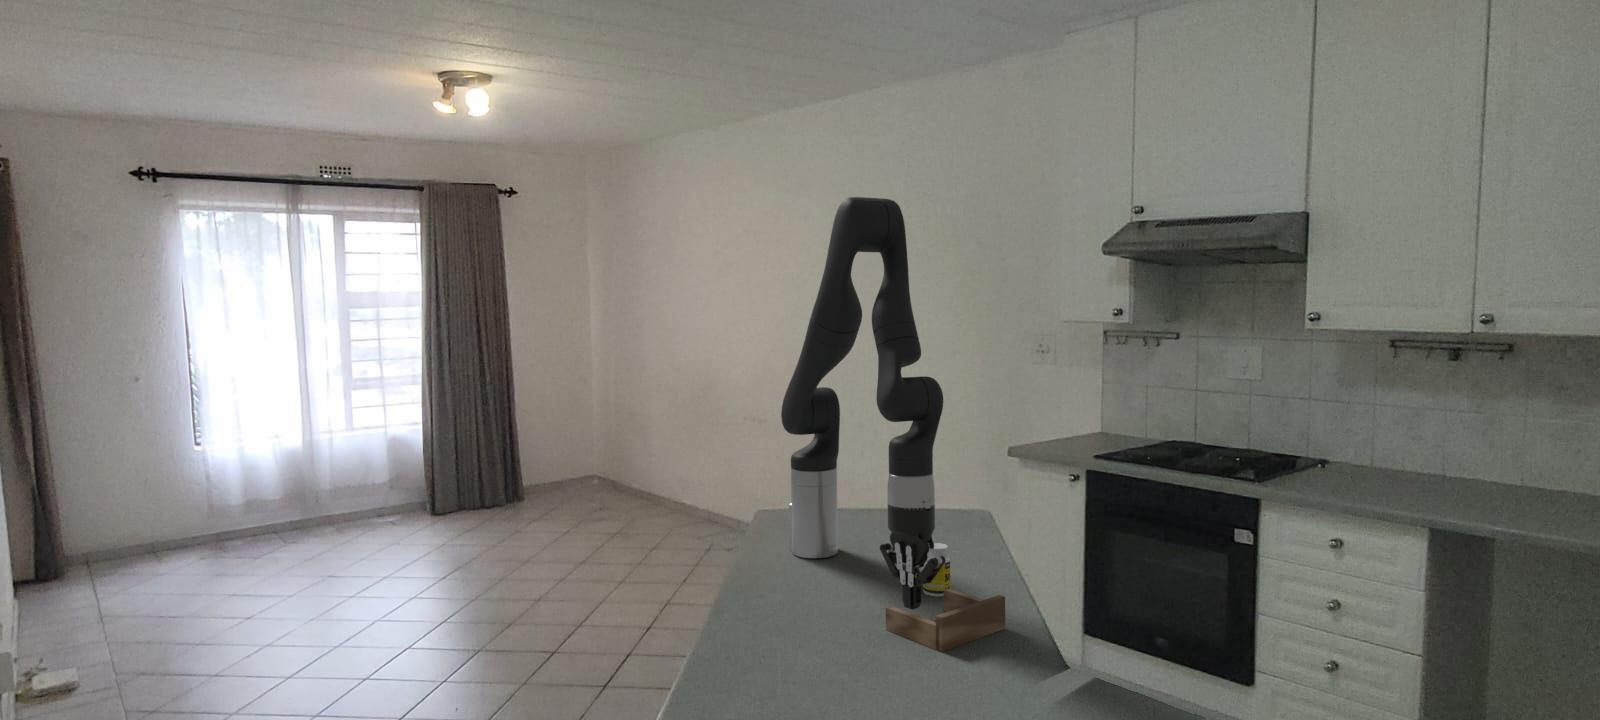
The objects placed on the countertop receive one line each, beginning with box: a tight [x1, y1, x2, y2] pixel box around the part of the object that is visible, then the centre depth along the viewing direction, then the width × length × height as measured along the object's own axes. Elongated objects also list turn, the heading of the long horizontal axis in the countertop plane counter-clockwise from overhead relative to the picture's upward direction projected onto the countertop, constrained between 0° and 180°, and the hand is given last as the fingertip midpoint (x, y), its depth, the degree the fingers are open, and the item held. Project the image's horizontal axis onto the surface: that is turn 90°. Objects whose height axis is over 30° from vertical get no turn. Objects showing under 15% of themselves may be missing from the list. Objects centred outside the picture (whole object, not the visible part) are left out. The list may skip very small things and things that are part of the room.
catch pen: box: [885, 588, 1006, 653], centre depth 131 cm, size 12×14×5 cm
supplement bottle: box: [922, 542, 951, 597], centre depth 148 cm, size 5×5×8 cm
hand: (912, 607), depth 136 cm, fingers closed
